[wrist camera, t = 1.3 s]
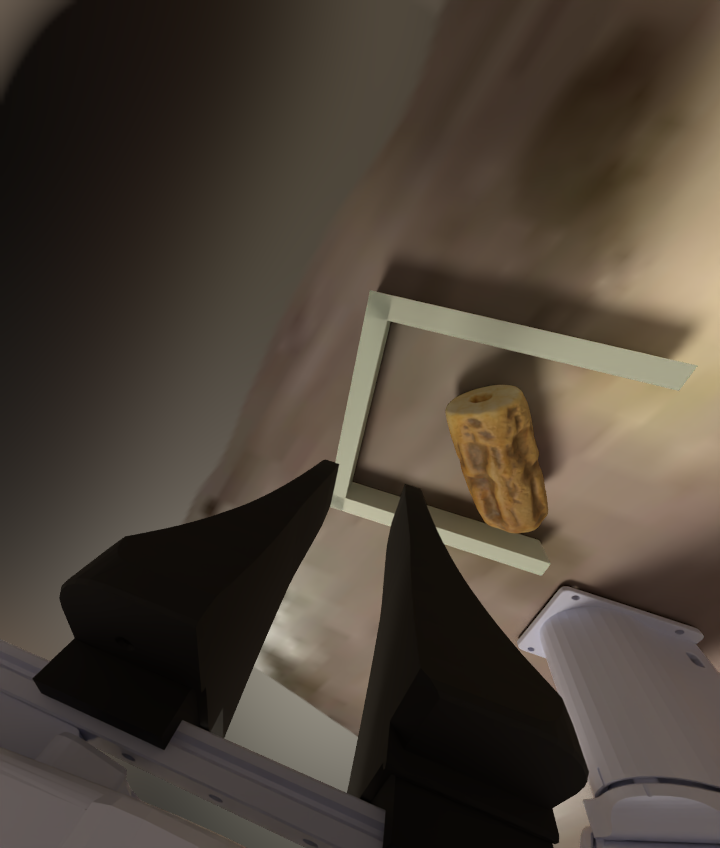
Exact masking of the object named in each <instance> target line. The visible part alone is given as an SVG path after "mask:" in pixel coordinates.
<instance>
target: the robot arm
mask: <svg viewBox="0 0 720 848" xmlns="http://www.w3.org/2000/svg"><path fill="white" fill-rule="evenodd" d="M338 468H339V464H338V463H335V462H332V461H328V460H323V461H321V462H320V463H319V464H317V465H316V466H314V467H313V468H311V469H310V470H308V471H307V472H305V473H304V474H302V475H301V476H299V477H297V478H296V479H294V480H292V481H291V482H289V483H287V484H286V485H284V486H282V487H280V488H278V489H277V490H275V491H273V492H271V493H269V494H267V495H265V496H263V497H261V498H259V499H257V500H254V501H252V502H250V503H248V504H245V505H243V506H240V507H237V508H234V509H232V510H229V511H226V512H223V513H220V514H217V515H214V516H211V517H208V518H205V519H201V520H198V521H194V522H190V523H186V524H183V525H179V526H174V527H170V528H166V529H161V530H156V531H151V532H146V533H141V534H136V535H131V536H125V537H124V538H122V539H121V540H120V541H118V542H117V543H115V544H114V545H113V546H111V547H110V548H109V549H107V550H106V551H105V552H103V553H102V554H101V555H99V556H98V557H97V558H96V559H94V560H93V561H92V562H90V563H89V564H88V565H86V566H85V567H84V568H83V569H81V570H80V571H79V572H77V573H76V574H75V575H74V576H72V577H71V578H70V579H68V580H67V581H66V582H65V583H64V584H63V585H62V587H61V592H60V602H61V606H62V609H63V611H64V614H65V616H66V618H67V621H68V623H69V625H70V628H71V630H72V632H73V635H74V637H75V638H74V640H72V641H71V642H70V643H69V644H68V645H67V646H66V647H65V648H64V649H63V650H62V651H61V652H60V653H59V654H58V655H57V656H55V657H54V658H53V659H52V660H51V661H48V660H46V659H44V658H42V657H40V656H37V655H35V654H33V653H31V652H28V651H26V650H24V649H22V648H19V647H17V646H15V645H13V644H10V643H8V642H6V641H3V640H1V639H0V848H246V847H244V846H242V845H240V844H238V843H236V842H234V841H232V840H230V839H228V838H226V837H224V836H222V835H219V834H217V833H215V832H213V831H211V830H208V829H206V828H204V827H202V826H200V825H197V824H195V823H193V822H190V821H188V820H186V819H183V818H182V817H179V816H177V815H175V814H172V813H170V812H167V811H165V810H163V809H160V808H158V807H155V806H153V805H150V804H148V803H145V802H143V801H141V800H140V799H139V798H138V797H137V796H136V794H135V793H134V792H133V791H132V790H131V788H130V786H129V784H128V782H127V780H126V775H127V770H126V768H124V767H123V766H121V765H120V764H118V763H117V762H115V761H114V760H112V759H111V758H110V757H108V756H107V755H105V754H104V753H102V752H101V751H99V750H102V751H104V752H106V753H108V754H110V755H112V756H114V757H116V758H118V759H121V760H122V761H125V762H127V763H129V764H131V765H133V766H135V767H137V768H139V769H142V770H143V771H146V772H148V773H150V774H152V775H154V776H156V777H158V778H160V779H162V780H165V781H167V782H169V783H171V784H173V785H175V786H177V787H179V788H181V789H183V790H185V791H188V792H190V793H192V794H194V795H196V796H198V797H200V798H202V799H204V800H207V801H209V802H211V803H213V804H215V805H217V806H219V807H221V808H223V809H225V810H227V811H230V812H232V813H234V814H236V815H238V816H240V817H242V818H244V819H246V820H248V821H251V822H253V823H255V824H257V825H259V826H261V827H263V828H265V829H267V830H269V831H272V832H274V833H276V834H278V835H280V836H282V837H284V838H286V839H288V840H291V841H293V842H295V843H297V844H299V845H301V846H303V847H305V848H553V844H557V843H559V833H558V829H557V825H556V821H555V817H554V813H553V809H552V808H554V807H555V806H557V805H559V804H560V803H562V802H564V801H565V800H567V799H569V798H570V797H572V796H574V795H576V794H577V793H578V792H579V791H580V790H581V789H582V788H584V787H585V785H586V783H587V780H588V783H589V786H590V789H591V792H592V795H593V799H584V800H583V803H584V806H585V810H586V813H587V816H588V819H589V822H590V826H587V827H585V828H584V829H583V830H582V833H581V837H580V848H720V673H719V672H718V671H717V670H716V668H715V667H714V666H713V665H712V663H711V662H710V661H709V660H708V658H707V657H706V656H705V655H704V653H703V652H702V651H701V650H700V648H699V647H698V646H697V645H696V644H697V643H698V642H700V641H701V640H702V639H703V638H704V635H703V634H702V633H701V632H700V630H699V629H697V628H694V627H691V626H688V625H685V624H682V623H679V622H676V621H673V620H670V619H667V618H664V617H661V616H658V615H655V614H652V613H648V612H645V611H642V610H639V609H636V608H633V607H630V606H627V605H624V604H621V603H618V602H615V601H612V600H609V599H606V598H603V597H599V596H596V595H593V594H590V593H587V592H584V591H581V590H578V589H575V588H572V587H568V586H563V587H561V588H560V589H559V590H558V591H557V592H556V594H555V595H554V596H553V597H552V599H551V600H550V601H549V602H548V604H547V605H546V606H545V607H544V609H543V610H542V611H541V612H540V614H539V615H538V616H537V617H536V618H535V620H534V621H533V622H532V623H531V625H530V626H529V627H528V628H527V630H526V631H525V632H524V633H523V635H522V636H521V637H520V638H519V639H518V641H517V643H518V647H519V648H520V649H521V650H524V651H527V652H529V653H532V654H535V655H538V656H541V657H543V658H546V659H547V662H548V665H549V668H550V671H551V674H552V677H553V680H554V683H555V686H556V689H557V692H558V693H557V692H556V691H555V690H554V689H553V687H552V686H551V685H550V684H549V683H548V682H547V681H546V680H545V679H544V678H543V677H542V675H541V674H540V673H539V672H538V671H537V670H536V669H535V668H534V667H533V666H532V665H531V664H530V662H529V661H528V660H527V659H526V658H525V657H524V656H523V655H522V654H521V653H520V651H519V650H518V649H517V648H516V647H515V645H514V644H513V643H512V642H511V641H510V639H509V638H508V637H507V636H506V635H505V633H504V632H503V631H502V630H501V629H500V627H499V626H498V625H497V624H496V622H495V621H494V620H493V619H492V617H491V616H490V615H489V613H488V612H487V611H486V609H485V608H484V607H483V605H482V604H481V603H480V601H479V600H478V598H477V597H476V596H475V594H474V593H473V592H472V590H471V589H470V587H469V586H468V584H467V583H466V581H465V580H464V578H463V577H462V575H461V573H460V572H459V570H458V569H457V567H456V565H455V563H454V562H453V560H452V558H451V556H450V555H449V553H448V551H447V549H446V547H445V545H444V543H443V541H442V539H441V537H440V535H439V533H438V531H437V528H436V526H435V524H434V522H433V519H432V517H431V515H430V512H429V510H428V507H427V504H426V502H425V499H424V496H423V493H422V491H421V489H420V488H416V487H413V486H410V485H407V484H405V485H404V488H403V491H402V494H401V497H400V500H399V503H398V506H397V509H396V511H395V514H394V517H393V520H392V523H391V528H390V533H389V538H388V543H387V550H386V561H385V573H384V585H383V596H382V607H381V615H380V622H379V628H378V633H377V639H376V645H375V651H374V656H373V661H372V667H371V672H370V678H369V683H368V689H367V694H366V699H365V704H364V710H363V715H362V720H361V725H360V731H359V736H358V741H357V746H356V751H355V756H354V761H353V766H352V771H351V776H350V782H349V786H348V791H347V793H345V792H343V791H341V790H339V789H336V788H334V787H332V786H329V785H327V784H325V783H323V782H321V781H318V780H316V779H314V778H312V777H309V776H307V775H305V774H303V773H300V772H298V771H296V770H294V769H291V768H289V767H287V766H285V765H282V764H280V763H278V762H276V761H273V760H271V759H269V758H266V757H264V756H262V755H260V754H258V753H255V752H253V751H251V750H249V749H246V748H244V747H242V746H240V745H237V744H235V743H233V742H230V741H228V740H226V739H224V737H225V734H226V732H227V730H228V727H229V725H230V722H231V719H232V717H233V715H234V712H235V710H236V708H237V705H238V703H239V700H240V698H241V695H242V693H243V691H244V688H245V686H246V683H247V681H248V679H249V676H250V674H251V671H252V669H253V667H254V664H255V662H256V660H257V657H258V655H259V653H260V650H261V648H262V645H263V643H264V641H265V639H266V636H267V634H268V632H269V629H270V627H271V625H272V622H273V620H274V618H275V616H276V613H277V611H278V609H279V607H280V604H281V602H282V600H283V598H284V595H285V593H286V591H287V589H288V586H289V584H290V582H291V580H292V578H293V577H294V575H295V573H296V571H297V569H298V567H299V566H300V564H301V562H302V560H303V558H304V557H305V555H306V553H307V551H308V550H309V548H310V546H311V544H312V542H313V541H314V539H315V537H316V535H317V533H318V532H319V530H320V528H321V526H322V524H323V522H324V519H325V517H326V515H327V512H328V510H329V507H330V505H331V502H332V497H333V492H334V487H335V483H336V478H337V473H338ZM96 748H97V749H96ZM98 749H99V750H98ZM552 843H553V844H552Z"/></svg>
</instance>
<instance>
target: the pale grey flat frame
mask: <svg viewBox="0 0 720 848" xmlns="http://www.w3.org/2000/svg"><path fill="white" fill-rule="evenodd" d="M391 322H395V323H399V324H404V325H408V326H412V327H416V328H420V329H424V330H429V331H433V332H437V333H441V334H445V335H449V336H453V337H458V338H462V339H466V340H470V341H474V342H478V343H483V344H487V345H491V346H495V347H499V348H503V349H507V350H512V351H516V352H520V353H524V354H528V355H532V356H537V357H541V358H545V359H549V360H553V361H557V362H561V363H566V364H570V365H574V366H578V367H582V368H586V369H591V370H595V371H599V372H603V373H607V374H611V375H615V376H620V377H624V378H628V379H632V380H636V381H640V382H644V383H649V384H653V385H657V386H661V387H665V388H669V389H674V390H678V391H679V390H680V389H681V387H682V386H683V385H684V383H685V382H686V381H687V379H688V378H689V377H690V375H691V374H692V373H693V371H694V370H695V369H696V367H697V365H693V364H688V363H684V362H680V361H675V360H671V359H667V358H662V357H658V356H653V355H649V354H645V353H640V352H636V351H632V350H627V349H623V348H619V347H614V346H610V345H606V344H601V343H597V342H593V341H588V340H584V339H580V338H575V337H571V336H566V335H562V334H558V333H553V332H549V331H545V330H540V329H536V328H532V327H527V326H523V325H519V324H514V323H510V322H506V321H501V320H497V319H493V318H488V317H484V316H479V315H475V314H471V313H466V312H462V311H458V310H453V309H449V308H445V307H440V306H436V305H432V304H427V303H423V302H419V301H414V300H410V299H405V298H401V297H397V296H392V295H388V294H384V293H379V292H375V291H371V290H370V293H369V298H368V303H367V308H366V313H365V318H364V323H363V328H362V333H361V338H360V343H359V348H358V353H357V358H356V363H355V368H354V373H353V378H352V383H351V388H350V393H349V398H348V402H347V407H346V412H345V417H344V422H343V427H342V432H341V437H340V442H339V447H338V452H337V457H336V462H335V463H338V464H339V468H338V473H337V478H336V483H335V487H334V492H333V497H332V502H331V505H330V507H332V508H335V509H338V510H341V511H344V512H347V513H351V514H354V515H357V516H360V517H363V518H366V519H369V520H372V521H375V522H378V523H381V524H384V525H387V526H390V527H391V523H392V520H393V517H394V514H395V511H396V509H397V506H398V503H399V500H400V497H399V496H396V495H393V494H390V493H386V492H383V491H380V490H377V489H374V488H370V487H367V486H364V485H361V484H358V483H354V482H352V480H353V476H354V472H355V468H356V464H357V460H358V456H359V451H360V447H361V443H362V439H363V435H364V431H365V427H366V423H367V418H368V414H369V410H370V406H371V402H372V398H373V394H374V389H375V385H376V381H377V377H378V373H379V369H380V365H381V360H382V356H383V352H384V348H385V344H386V340H387V336H388V331H389V327H390V323H391ZM427 507H428V510H429V512H430V515H431V517H432V519H433V522H434V524H435V526H436V528H437V531H438V533H439V535H440V537H441V539H442V541H443V543H444V544H446V545H449V546H452V547H455V548H458V549H461V550H464V551H467V552H470V553H473V554H476V555H479V556H482V557H486V558H489V559H492V560H495V561H498V562H501V563H504V564H507V565H510V566H513V567H516V568H519V569H522V570H525V571H528V572H532V573H535V574H538V575H541V576H542V575H543V573H544V572H545V571H546V569H547V568H548V567H549V565H550V564H551V563H550V561H549V559H548V557H547V555H546V553H545V551H544V549H543V547H542V545H541V543H540V541H539V540H537V539H534V538H530V537H527V536H524V535H521V534H518V533H509V532H507V531H504V530H501V529H499V528H495V527H492V526H490V525H488V524H486V523H482V522H479V521H476V520H473V519H470V518H466V517H463V516H460V515H457V514H454V513H450V512H447V511H444V510H441V509H438V508H434V507H431V506H428V505H427Z"/></svg>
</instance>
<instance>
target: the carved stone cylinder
mask: <svg viewBox="0 0 720 848" xmlns="http://www.w3.org/2000/svg"><path fill="white" fill-rule="evenodd" d="M446 418H447V422H448V426H449V431H450V434H451V438H452V440H453V443H454V447H455V450H456V453H457V455H458V457H459V459H460V464H461V469H462V472H463V474H464V477H465V480H466V483H467V485H468V488H469V491H470V494H471V496H472V497H473V500H474V503H475V505H476V507H477V509H478V511H479V513H480V515H481V516H482V518H483V520H484V521H485V523H487V524H488V525H490V526H492V527H495V528H499V529H501V530H504V531H507V532H509V533H523V532H530V531H533V530H535V529H536V528H538V527H539V525H540V524H541V522H542V521H543V520H544V518H545V517H546V516H547V514H548V503H547V496H546V490H545V484H544V479H543V474H542V471H541V469H540V467H539V463H538V457H539V451H538V448H537V445H536V441H535V438H534V431H533V426H532V420H531V415H530V411H529V407H528V403H527V401H526V399H525V397H524V395H523V393H522V391H521V390H520V389H518V388H517V387H515V386H511V385H492V386H487V387H482V388H478V389H475V390H471V391H469V392H466V393H464V394H462V395H460V396H458V397H456V398H454V399H453V400H452V401H451V402H450V403H449V404H448V405H447V407H446Z"/></svg>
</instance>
